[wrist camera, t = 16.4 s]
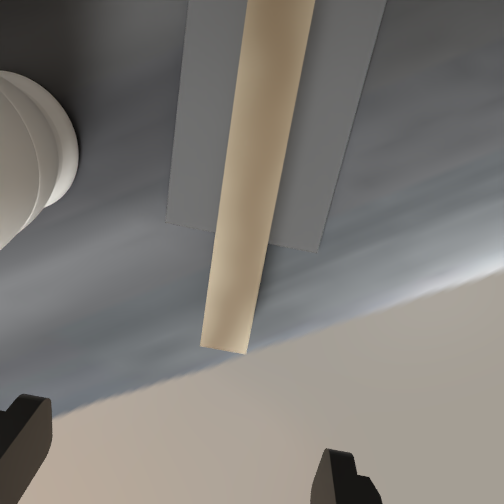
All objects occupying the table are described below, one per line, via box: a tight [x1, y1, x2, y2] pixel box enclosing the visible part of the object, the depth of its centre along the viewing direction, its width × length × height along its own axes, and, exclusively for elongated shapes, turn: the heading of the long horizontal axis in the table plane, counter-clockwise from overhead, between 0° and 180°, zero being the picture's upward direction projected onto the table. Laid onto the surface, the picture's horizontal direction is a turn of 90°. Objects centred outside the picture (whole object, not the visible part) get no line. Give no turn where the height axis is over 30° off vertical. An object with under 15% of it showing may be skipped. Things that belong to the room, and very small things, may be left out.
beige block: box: [200, 0, 315, 354], centre depth 23 cm, size 3×20×3 cm, turn 171°
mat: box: [165, 0, 387, 253], centre depth 23 cm, size 10×16×1 cm, turn 170°
